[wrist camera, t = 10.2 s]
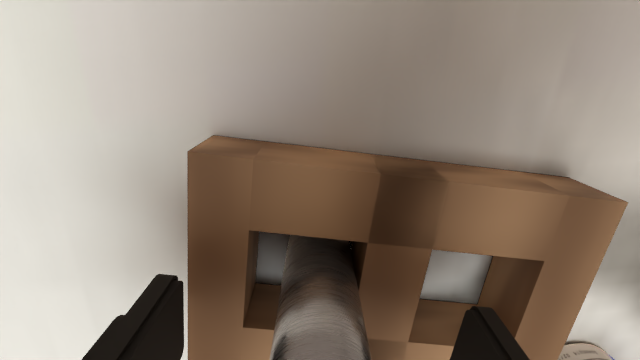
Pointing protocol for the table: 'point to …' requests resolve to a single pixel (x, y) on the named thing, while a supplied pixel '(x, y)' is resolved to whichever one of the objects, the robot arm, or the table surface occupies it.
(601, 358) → the pill bottle
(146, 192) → the table surface
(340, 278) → the peg
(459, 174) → the hole block
